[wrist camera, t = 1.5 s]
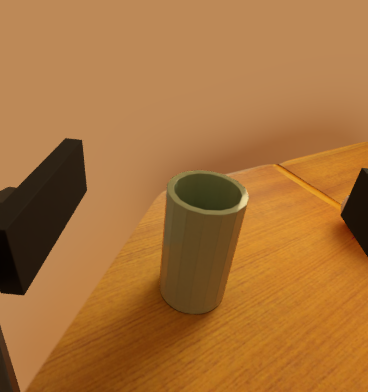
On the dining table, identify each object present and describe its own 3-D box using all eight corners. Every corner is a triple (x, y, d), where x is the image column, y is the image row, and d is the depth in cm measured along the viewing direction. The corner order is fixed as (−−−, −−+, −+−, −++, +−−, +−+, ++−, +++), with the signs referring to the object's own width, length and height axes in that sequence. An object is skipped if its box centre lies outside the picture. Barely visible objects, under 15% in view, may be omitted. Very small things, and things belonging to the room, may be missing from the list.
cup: (175, 324, 28) (190, 222, 22) (149, 271, 33) (155, 176, 27) (236, 301, 31) (265, 205, 25) (204, 256, 36) (220, 166, 29)
